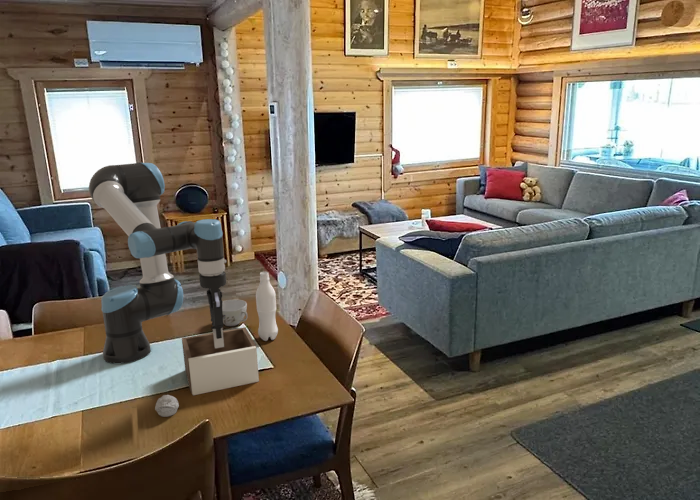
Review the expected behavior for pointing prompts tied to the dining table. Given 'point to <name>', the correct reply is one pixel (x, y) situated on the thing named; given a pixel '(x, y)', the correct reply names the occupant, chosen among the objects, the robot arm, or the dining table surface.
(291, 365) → the dining table surface
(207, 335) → the crate
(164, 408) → the white sculpted head
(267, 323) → the water bottle
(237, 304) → the teacup
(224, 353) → the panel
